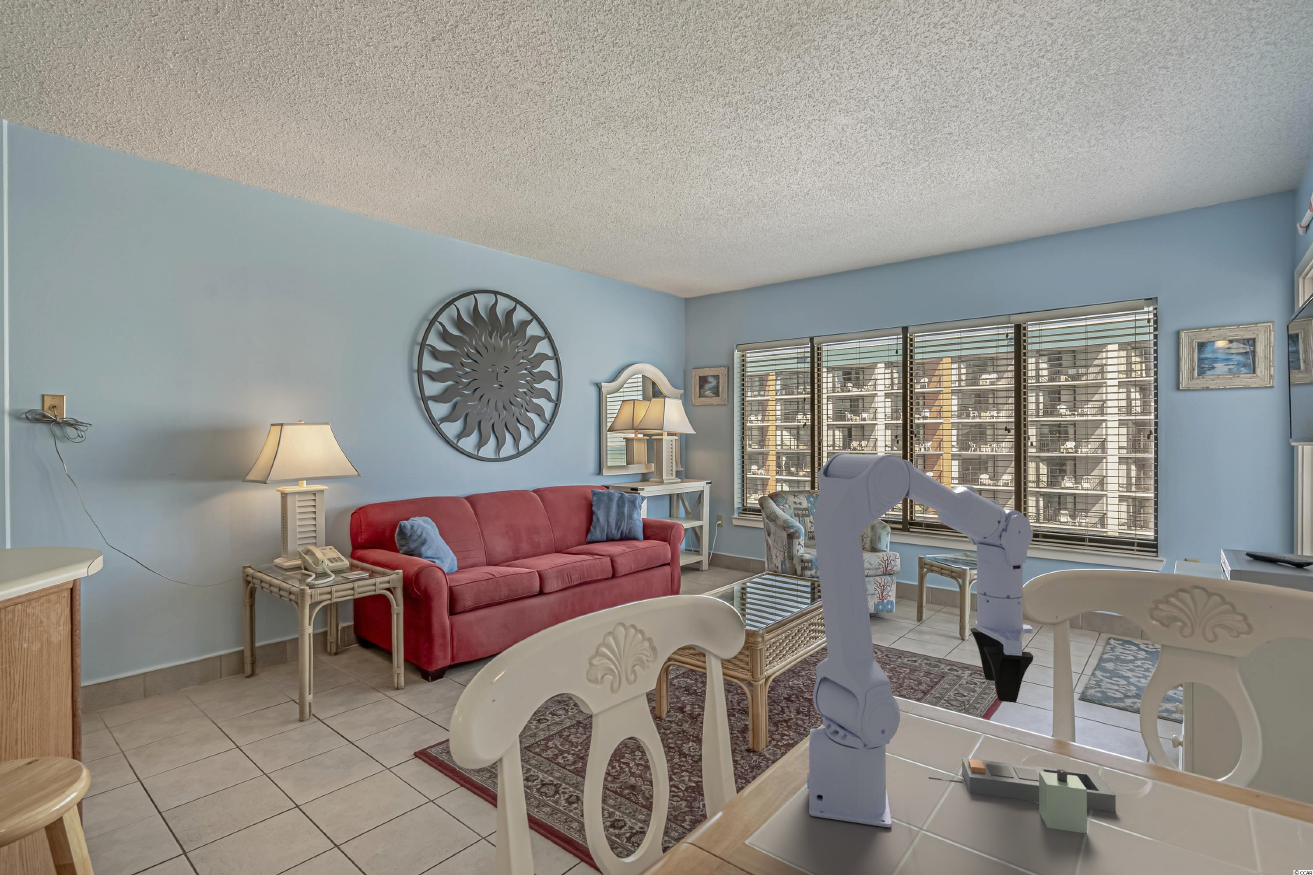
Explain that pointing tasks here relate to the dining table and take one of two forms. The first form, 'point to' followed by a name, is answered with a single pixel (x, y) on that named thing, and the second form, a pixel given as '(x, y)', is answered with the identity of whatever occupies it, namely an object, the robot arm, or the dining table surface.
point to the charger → (1063, 801)
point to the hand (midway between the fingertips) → (1000, 690)
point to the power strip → (1027, 782)
